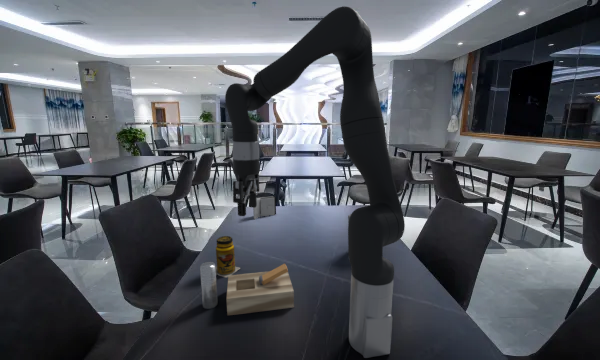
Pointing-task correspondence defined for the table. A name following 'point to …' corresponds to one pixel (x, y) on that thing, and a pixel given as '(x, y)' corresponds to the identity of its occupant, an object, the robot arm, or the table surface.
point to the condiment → (225, 257)
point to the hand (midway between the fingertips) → (247, 211)
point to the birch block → (258, 293)
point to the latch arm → (273, 274)
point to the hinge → (265, 207)
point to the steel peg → (208, 285)
